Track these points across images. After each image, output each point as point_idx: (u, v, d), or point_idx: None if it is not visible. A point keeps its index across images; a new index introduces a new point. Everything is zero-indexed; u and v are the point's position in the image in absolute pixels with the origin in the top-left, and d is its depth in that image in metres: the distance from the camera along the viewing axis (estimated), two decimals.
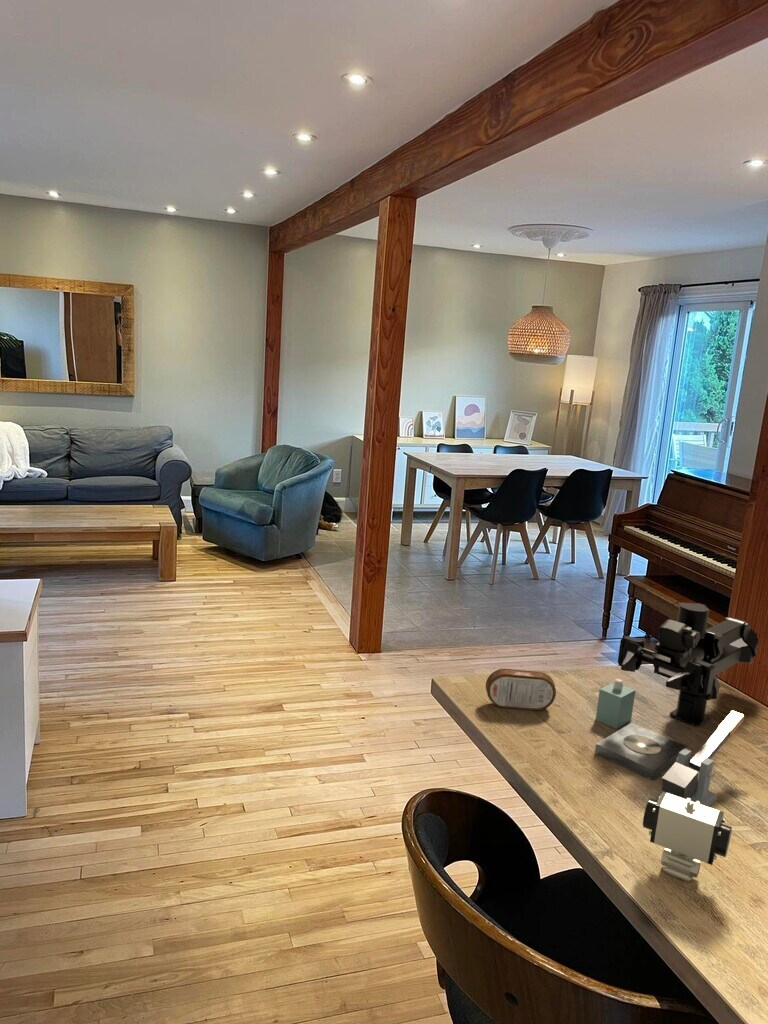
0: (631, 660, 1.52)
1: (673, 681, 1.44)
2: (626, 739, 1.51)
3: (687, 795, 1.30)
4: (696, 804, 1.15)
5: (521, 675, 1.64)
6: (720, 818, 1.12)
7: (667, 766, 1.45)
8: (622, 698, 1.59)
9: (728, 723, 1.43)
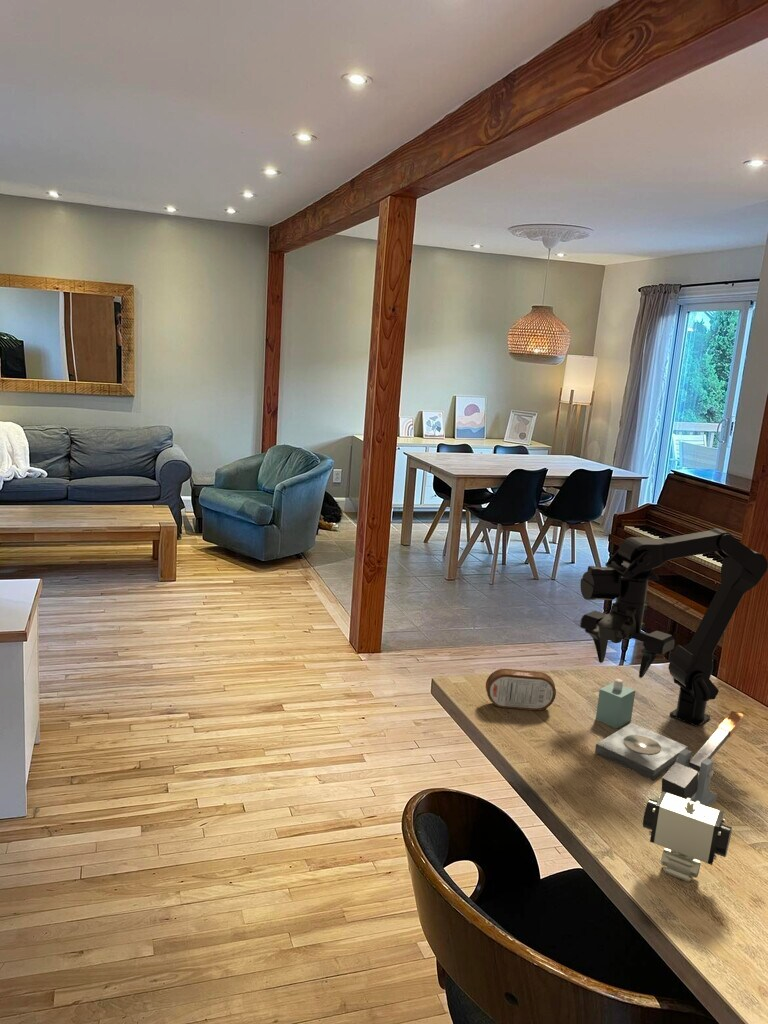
0: (601, 646, 1.64)
1: (643, 672, 1.57)
2: (626, 739, 1.51)
3: (687, 795, 1.30)
4: (696, 804, 1.15)
5: (521, 675, 1.64)
6: (720, 818, 1.12)
7: (667, 766, 1.45)
8: (622, 698, 1.59)
9: (728, 723, 1.43)
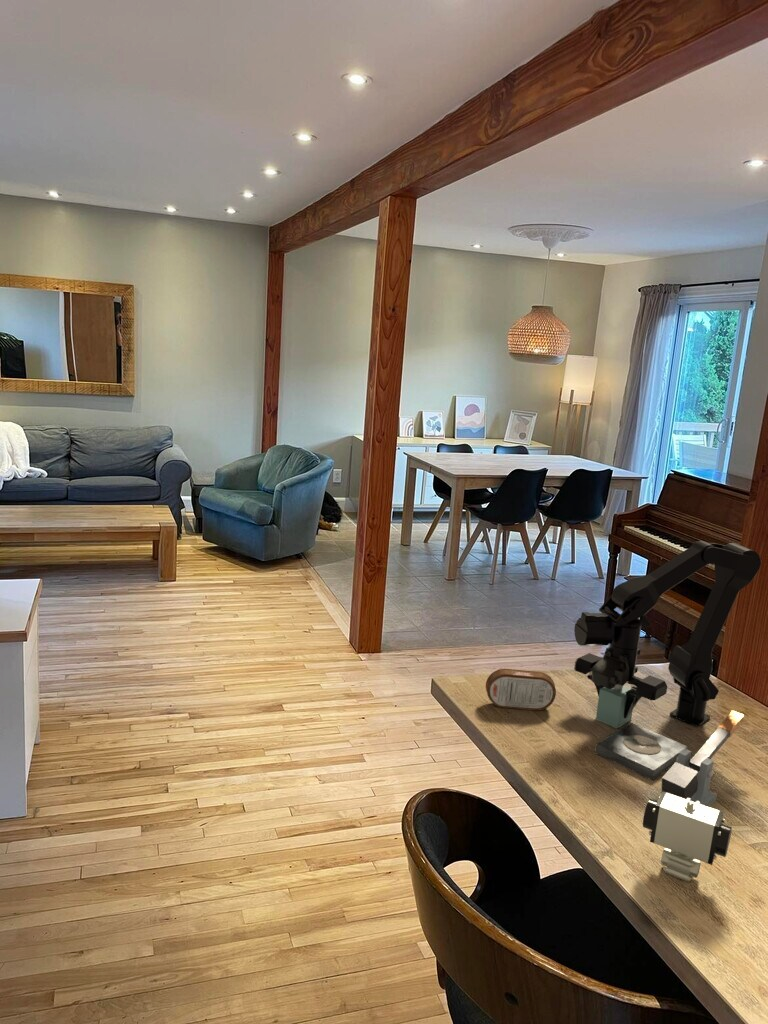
0: None
1: (628, 713, 1.61)
2: (626, 739, 1.51)
3: (687, 795, 1.30)
4: (696, 804, 1.15)
5: (521, 675, 1.64)
6: (720, 818, 1.12)
7: (667, 766, 1.45)
8: (622, 698, 1.59)
9: (728, 723, 1.43)
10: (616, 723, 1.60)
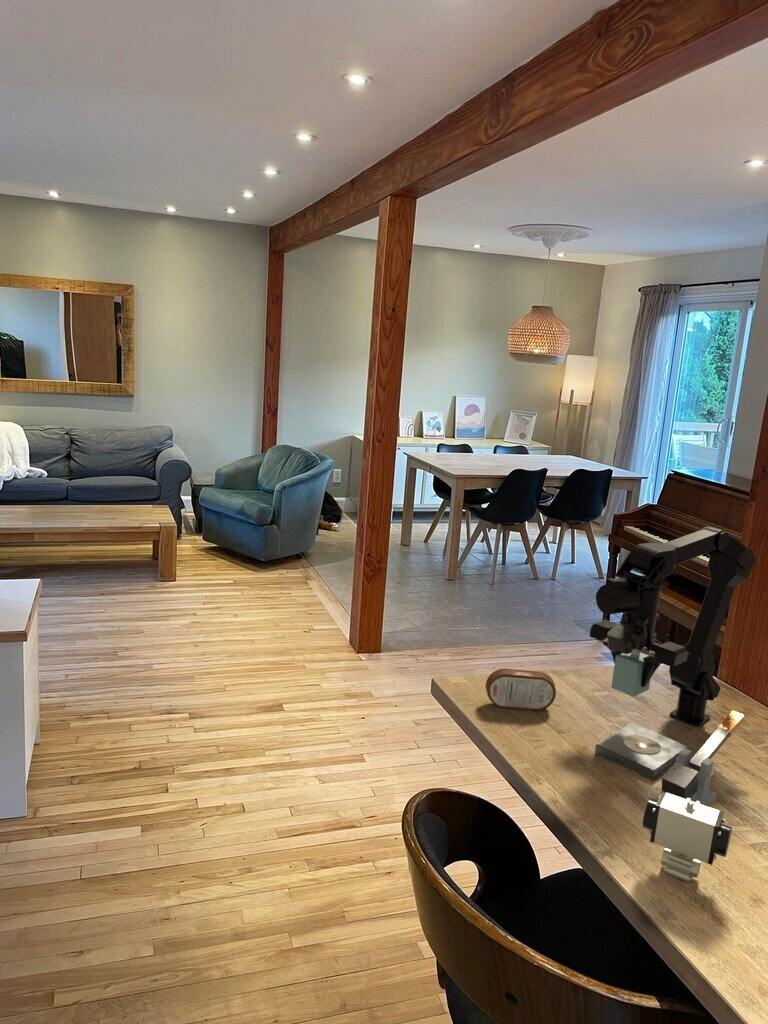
0: None
1: (646, 681, 1.53)
2: (626, 739, 1.51)
3: (687, 795, 1.30)
4: (696, 804, 1.15)
5: (521, 675, 1.64)
6: (720, 818, 1.12)
7: (667, 766, 1.45)
8: (639, 665, 1.51)
9: (728, 723, 1.43)
10: (632, 691, 1.52)
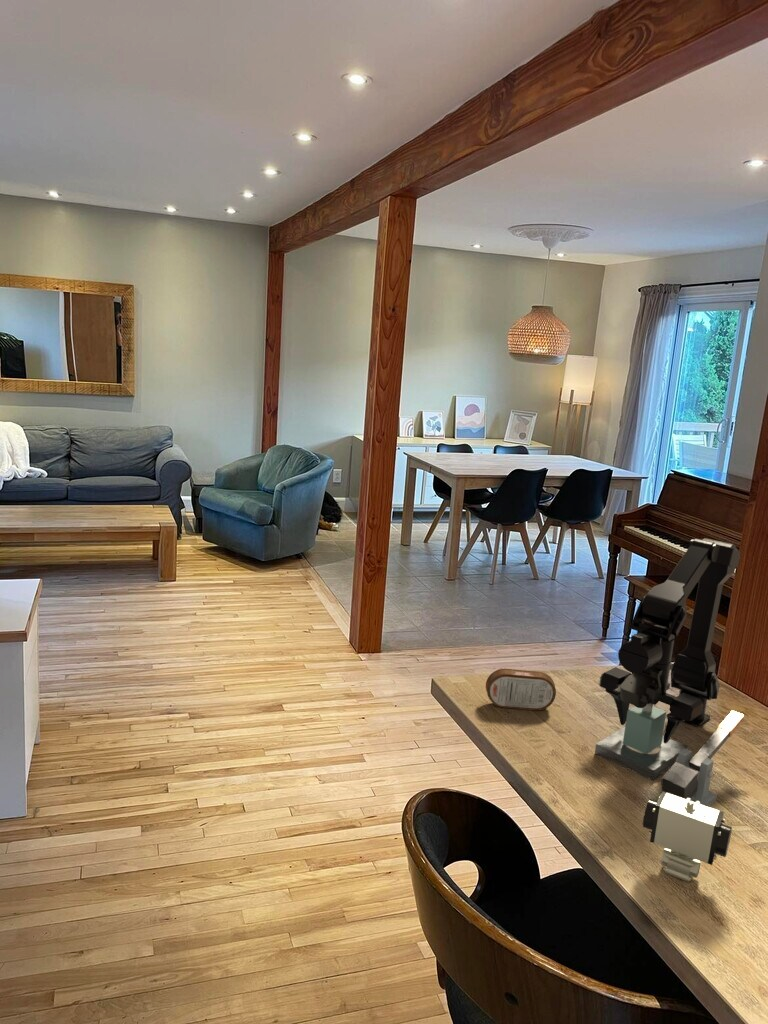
0: (623, 707, 1.51)
1: (668, 737, 1.45)
2: None
3: (687, 795, 1.30)
4: (696, 804, 1.15)
5: (521, 675, 1.64)
6: (720, 818, 1.12)
7: (667, 766, 1.45)
8: (653, 721, 1.45)
9: (728, 723, 1.43)
10: (646, 749, 1.46)
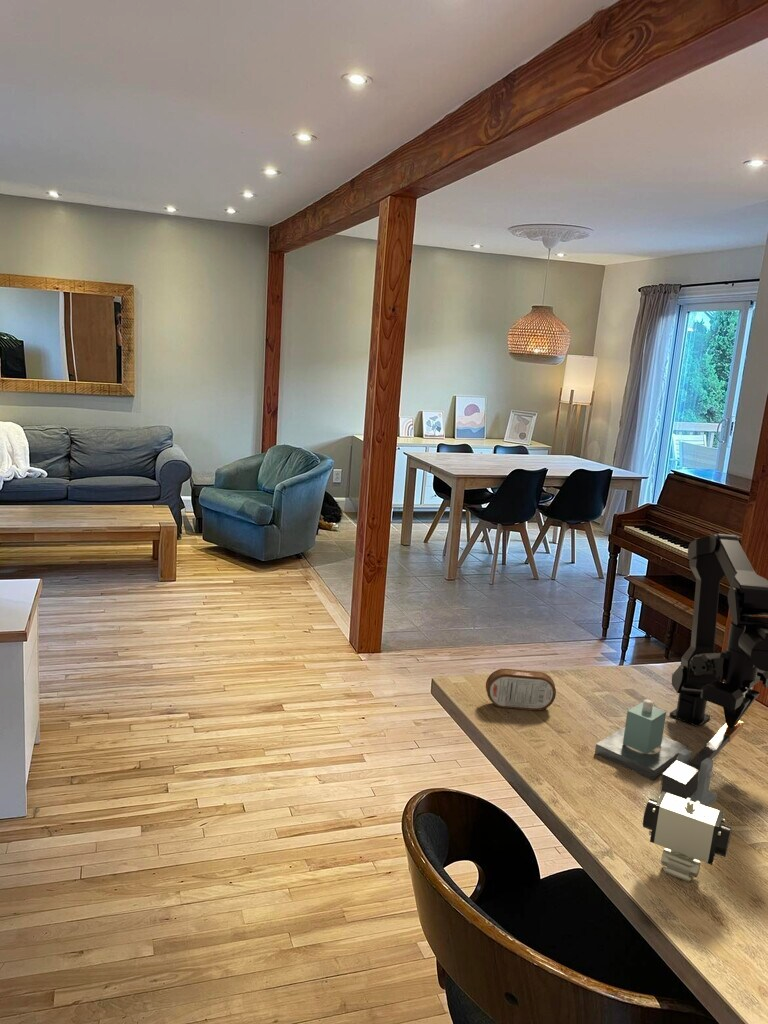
0: None
1: (727, 720, 1.44)
2: None
3: (687, 793, 1.29)
4: (696, 804, 1.15)
5: (521, 675, 1.64)
6: (720, 818, 1.12)
7: (667, 766, 1.45)
8: (653, 721, 1.45)
9: (727, 729, 1.44)
10: (646, 749, 1.46)
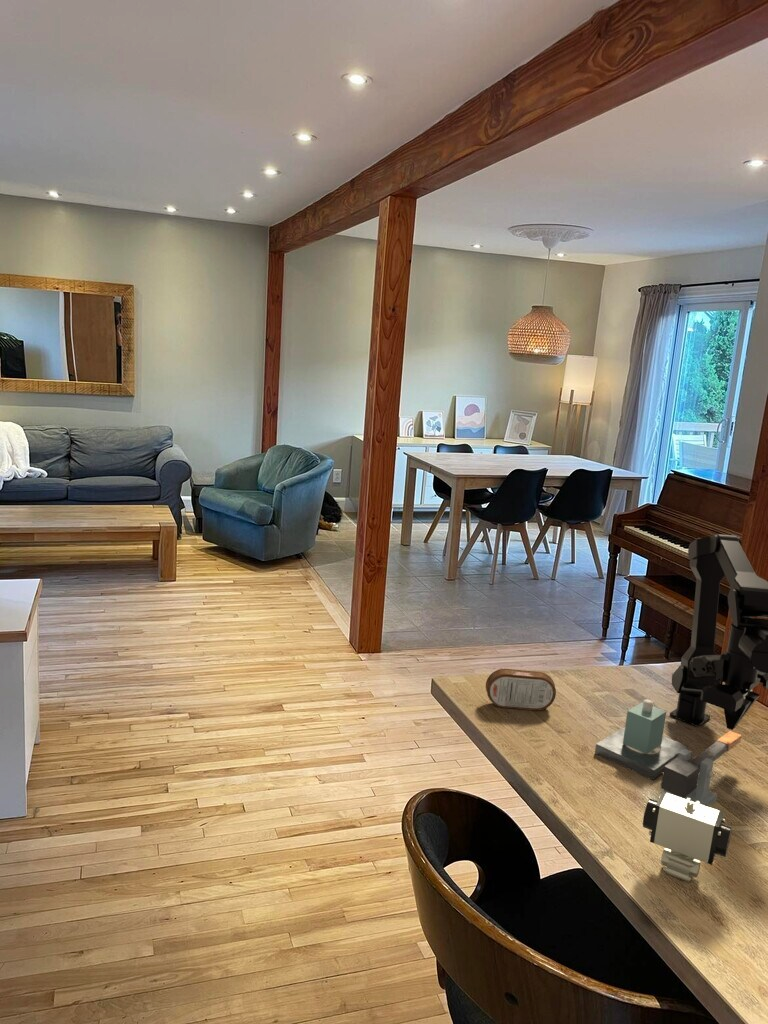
0: None
1: (727, 722, 1.44)
2: None
3: (688, 787, 1.29)
4: (696, 804, 1.15)
5: (521, 675, 1.64)
6: (720, 818, 1.12)
7: None
8: (653, 721, 1.45)
9: (726, 739, 1.45)
10: (646, 749, 1.46)
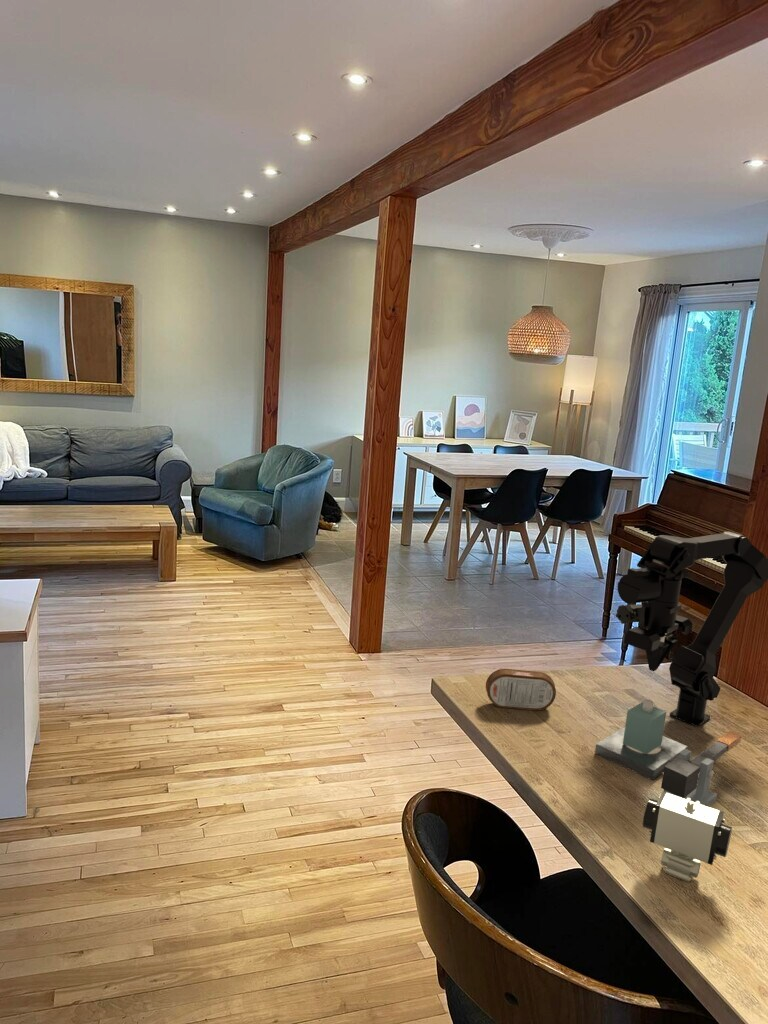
0: None
1: (649, 664, 1.58)
2: None
3: (688, 787, 1.29)
4: (696, 804, 1.15)
5: (521, 675, 1.64)
6: (720, 818, 1.12)
7: None
8: (653, 721, 1.45)
9: (726, 739, 1.45)
10: (646, 749, 1.46)
